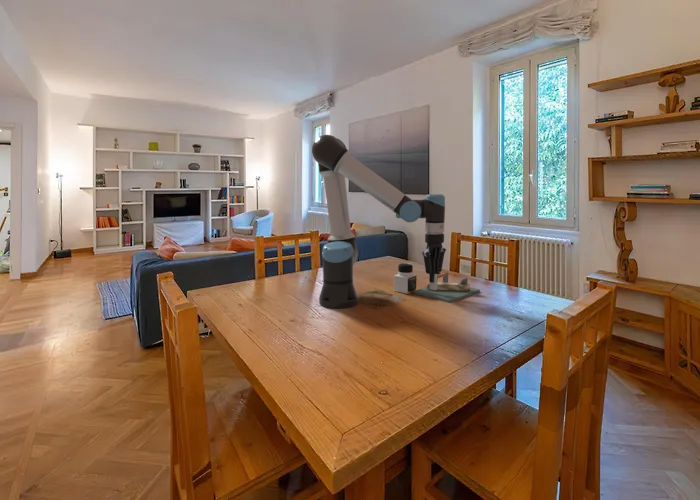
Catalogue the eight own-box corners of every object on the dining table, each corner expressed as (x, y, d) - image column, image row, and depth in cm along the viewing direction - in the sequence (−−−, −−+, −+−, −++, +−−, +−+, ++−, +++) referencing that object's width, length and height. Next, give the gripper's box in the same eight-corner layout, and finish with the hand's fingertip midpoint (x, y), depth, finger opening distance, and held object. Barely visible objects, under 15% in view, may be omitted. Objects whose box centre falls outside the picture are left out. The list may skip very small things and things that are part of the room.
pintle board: (449, 302, 148) (450, 287, 147) (413, 293, 162) (413, 279, 161) (479, 291, 163) (480, 278, 162) (444, 283, 176) (444, 271, 175)
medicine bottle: (407, 294, 160) (408, 266, 158) (393, 291, 165) (393, 264, 163) (416, 290, 166) (417, 263, 164) (402, 287, 170) (402, 261, 168)
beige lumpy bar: (468, 288, 164) (469, 282, 163) (470, 291, 159) (470, 285, 158) (426, 287, 166) (426, 281, 166) (426, 290, 161) (426, 284, 161)
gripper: (432, 235, 147) (431, 294, 151) (452, 232, 155) (450, 288, 159) (416, 233, 152) (416, 290, 156) (436, 230, 161) (435, 284, 165)
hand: (433, 289), depth 158 cm, fingers closed
